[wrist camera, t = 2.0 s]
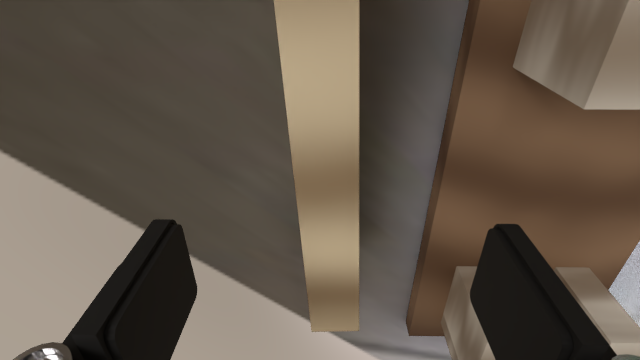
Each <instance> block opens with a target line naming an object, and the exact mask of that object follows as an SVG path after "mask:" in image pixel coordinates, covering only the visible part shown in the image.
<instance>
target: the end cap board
mask: <svg viewBox="0 0 640 360" xmlns="http://www.w3.org/2000/svg"><path fill="white" fill-rule="evenodd" d="M496 224H518V225H519V226H520V227H521V228H522V229H523V231H524V232H525V233H526V235H527V236H528V237H529V239H530V240H531V241H532V243H533V244H534V245H535V247H536V248H537V249H538V251H539V252H540V253H541V255H542V256H543V257H544V259H545V260H546V261H547V263H548V264H549V265H550V267H551V268H552V269H553V271H554V272H555V273H556V275H557V276H558V277H559V279H560V280H561V281H562V282H563V284H564V285H565V286H566V288H567V289H568V290H569V292H570V293H571V294H572V296H573V297H574V298H575V300H576V301H577V302H578V304H579V305H580V306H581V308H582V309H583V310H584V312H585V313H586V314H587V316H588V317H589V318H590V320H591V321H592V322H593V324H594V325H595V326H596V328H597V329H598V330H599V332H600V333H601V334H602V336H603V337H604V338H605V340H606V341H607V342H608V343H609V345H610V346H611V348H612V349H613V350H614V352H615V353H616V354H617V355H623V354H630V355H635V356H640V328H639V326H638V325H637V324H636V323H635V322H634V320H633V319H632V318H631V317H630V316H629V315H628V313H627V312H626V311H625V310H624V309H623V307H622V306H621V305H620V304H619V303H618V301H617V300H616V299H615V298H614V297H613V296H612V294H611V293H610V292H609V291H608V289H609V288H610V286H611V285H612V283H613V281H614V280H615V278H616V277H617V275H618V274H619V272H620V270H621V269H622V267H623V266H624V264H625V263H626V261H627V259H628V258H629V256H630V255H631V253H632V251H633V250H634V248H635V247H636V245H637V244H638V242H639V240H640V0H469V4H468V9H467V14H466V19H465V24H464V29H463V34H462V39H461V45H460V50H459V55H458V60H457V65H456V70H455V75H454V80H453V85H452V90H451V95H450V100H449V105H448V110H447V115H446V120H445V126H444V131H443V136H442V141H441V146H440V151H439V156H438V161H437V166H436V171H435V176H434V181H433V186H432V191H431V196H430V201H429V207H428V212H427V217H426V222H425V227H424V232H423V237H422V242H421V247H420V252H419V257H418V262H417V267H416V272H415V277H414V282H413V288H412V293H411V298H410V303H409V308H408V313H407V318H406V324H407V329H408V333H409V336H445V338H446V342H447V345H448V348H449V351H450V355H451V358H452V360H495V357H494V355H493V353H492V350H491V348H490V346H489V343H488V341H487V339H486V336H485V334H484V332H483V329H482V327H481V325H480V322H479V320H478V318H477V315H476V313H475V311H474V308H473V306H472V304H471V300H470V289H471V286H472V283H473V279H474V276H475V273H476V269H477V266H478V262H479V259H480V256H481V252H482V249H483V246H484V242H485V239H486V236H487V232H488V230H489V229H491V228H494V226H495V225H496Z"/></svg>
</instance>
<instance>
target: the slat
mask: <svg viewBox="0 0 640 360" xmlns="http://www.w3.org/2000/svg"><path fill="white" fill-rule="evenodd" d="M274 7H275V16H276V25H277V33H278V42H279V51H280V60H281V68H282V77H283V86H284V95H285V103H286V112H287V121H288V129H289V138H290V147H291V156H292V164H293V173H294V182H295V190H296V199H297V208H298V217H299V225H300V234H301V243H302V252H303V260H304V269H305V278H306V286H307V295H308V304H309V313H310V321H311V330H312V332H320V331H321V332H326V331H359V0H274Z"/></svg>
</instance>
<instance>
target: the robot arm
mask: <svg viewBox="0 0 640 360" xmlns="http://www.w3.org/2000/svg"><path fill="white" fill-rule="evenodd" d="M196 295H197V284H196V280H195V277H194V273H193V269H192V265H191V261H190V257H189V253H188V249H187V245H186V241H185V237H184V233H183V229H182V226H181V225H179V224H177V223H176V222H175V220H157V219H156V220H153V221H152V222H151V224H150V225H149V226H148V228H147V229H146V230H145V232H144V233H143V235H142V236H141V238H140V239H139V240H138V242H137V243H136V245H135V246H134V247H133V249H132V250H131V251H130V253H129V254H128V255H127V257H126V258H125V260H124V261H123V262H122V264H121V265H119V266H118V267H117V269H116V270H115V271H114V273H113V274H112V276H111V277H110V278H109V280H108V281H107V282H106V284H105V285H104V287H103V288H102V289H101V291H100V292H99V293H98V295H97V296H96V298H95V299H94V300H93V302H92V303H91V304H90V306H89V307H88V309H87V310H86V311H85V313H84V314H83V315H82V317H81V318H80V320H79V321H78V322H77V324H76V325H75V327H74V328H73V329H72V331H71V332H70V333H69V335H68V336H67V337H66V339H65V340H64V342H63V343H54V342H52V343H46V344H41V345H38V346H36V347H33V348H30V349H29V350H27V351H25V352H23V353H22V354H20V355H18V356H17V357H16V358H14V359H13V360H170V359H171V356H172V354H173V352H174V349H175V347H176V345H177V342H178V340H179V337H180V335H181V332H182V330H183V328H184V325H185V323H186V320H187V318H188V315H189V313H190V311H191V308H192V306H193V304H194V301H195V298H196ZM470 300H471V304H472V306H473V308H474V311H475V313H476V315H477V318H478V320H479V322H480V325H481V327H482V329H483V332H484V334H485V336H486V339H487V341H488V343H489V346H490V348H491V350H492V353H493V355H494V357H495V360H640V356H635V355H630V354H623V355H617V354H616V353H615V352H614V350H613V349H612V348H611V346H610V345H609V343H608V342H607V341H606V340H605V338H604V337H603V336H602V334H601V333H600V332H599V330H598V329H597V328H596V326H595V325H594V324H593V322H592V321H591V320H590V318H589V317H588V316H587V314H586V313H585V312H584V310H583V309H582V308H581V306H580V305H579V304H578V302H577V301H576V300H575V298H574V297H573V296H572V294H571V293H570V292H569V290H568V289H567V288H566V286H565V285H564V284H563V282H562V281H561V280H560V279H559V277H558V276H557V275H556V273H555V272H554V271H553V269H552V268H551V267H550V265H549V264H548V263H547V261H546V260H545V259H544V257H543V256H542V255H541V253H540V252H539V251H538V249H537V248H536V247H535V245H534V244H533V243H532V241H531V240H530V239H529V237H528V236H527V235H526V233H525V232H524V231H523V229H522V228H521V227H520V226H519V225H518V224H496V225H495V226H494V228H491V229H489V230H488V232H487V236H486V239H485V242H484V246H483V249H482V252H481V256H480V259H479V262H478V266H477V269H476V273H475V276H474V279H473V283H472V286H471V289H470Z"/></svg>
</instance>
